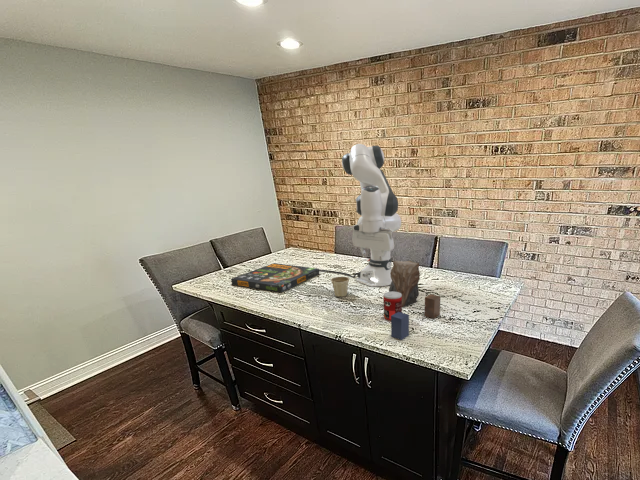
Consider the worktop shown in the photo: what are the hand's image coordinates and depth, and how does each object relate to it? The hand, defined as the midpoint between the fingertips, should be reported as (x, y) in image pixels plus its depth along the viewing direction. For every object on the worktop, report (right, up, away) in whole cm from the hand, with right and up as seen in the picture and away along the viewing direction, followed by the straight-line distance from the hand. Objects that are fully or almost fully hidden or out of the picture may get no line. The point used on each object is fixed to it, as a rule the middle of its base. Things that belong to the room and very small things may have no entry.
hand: (373, 258), depth 147 cm
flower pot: (-19, -16, +29) cm, 38 cm away
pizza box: (-62, -6, +54) cm, 82 cm away
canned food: (+8, -26, +2) cm, 27 cm away
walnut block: (+26, -25, +4) cm, 36 cm away
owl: (+13, -19, +19) cm, 30 cm away
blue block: (+12, -32, -14) cm, 37 cm away
